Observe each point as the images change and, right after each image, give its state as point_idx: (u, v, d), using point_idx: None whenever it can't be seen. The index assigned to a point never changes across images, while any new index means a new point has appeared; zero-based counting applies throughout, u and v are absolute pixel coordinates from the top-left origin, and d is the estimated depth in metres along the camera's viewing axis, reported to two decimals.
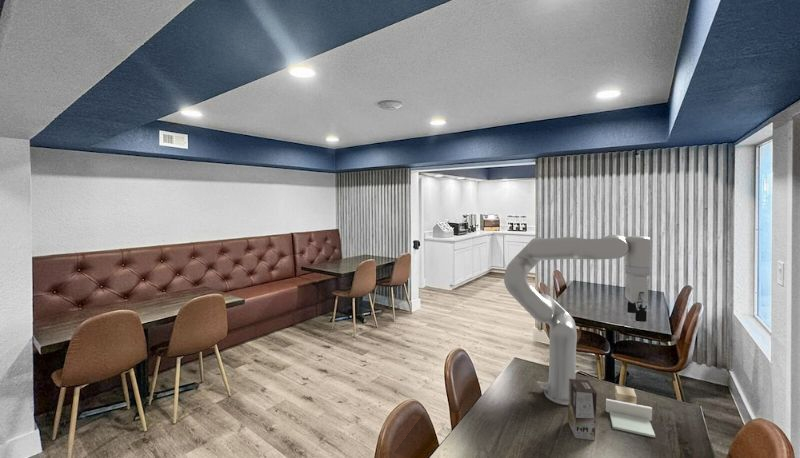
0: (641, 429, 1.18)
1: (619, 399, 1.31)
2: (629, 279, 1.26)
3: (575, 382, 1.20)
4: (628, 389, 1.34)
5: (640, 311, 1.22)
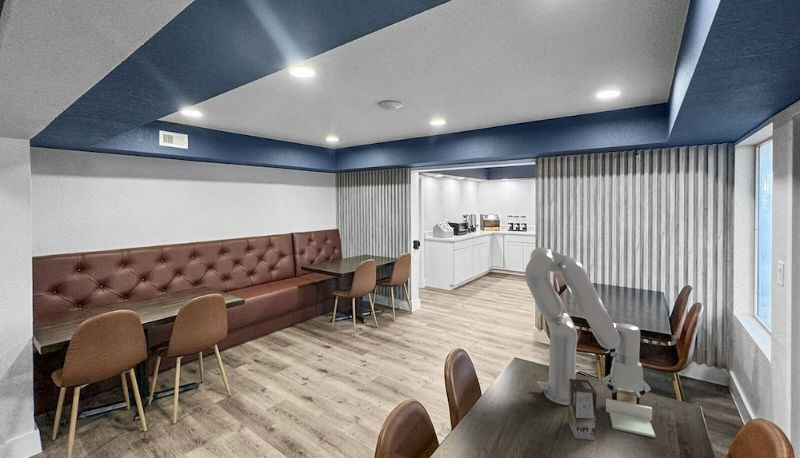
0: (641, 429, 1.18)
1: (619, 399, 1.31)
2: (631, 369, 1.29)
3: (575, 382, 1.20)
4: None
5: None
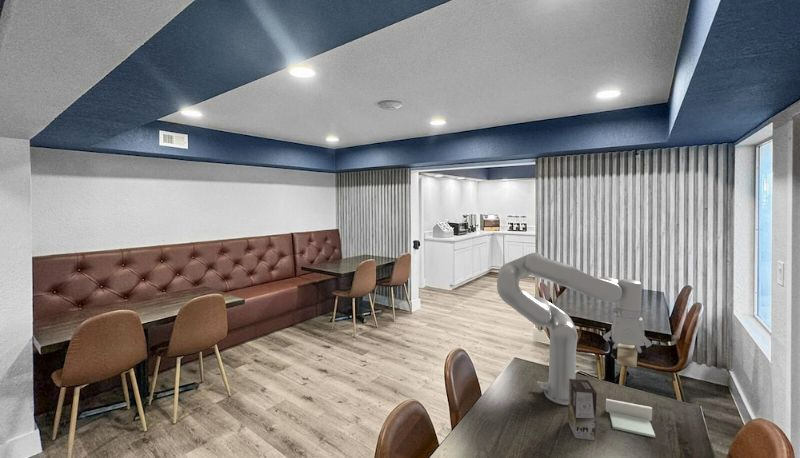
0: (641, 429, 1.18)
1: (620, 354, 1.30)
2: (632, 324, 1.28)
3: (575, 382, 1.20)
4: (629, 345, 1.33)
5: None
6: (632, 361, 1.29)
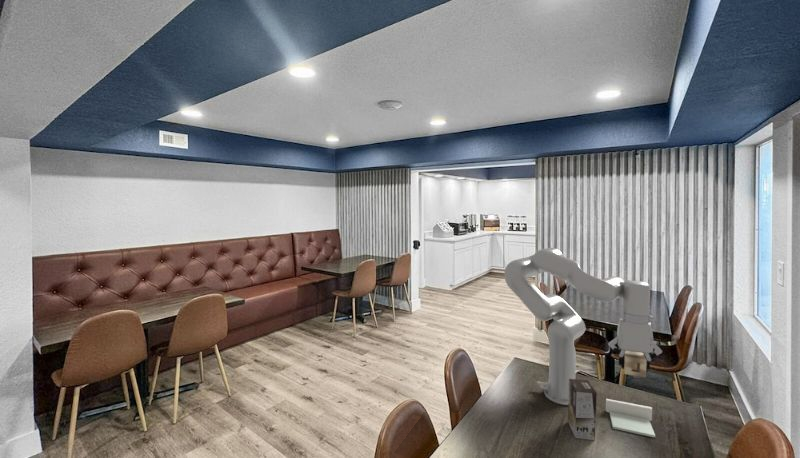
0: (641, 429, 1.18)
1: None
2: None
3: (575, 382, 1.20)
4: (631, 356, 1.19)
5: None
6: None
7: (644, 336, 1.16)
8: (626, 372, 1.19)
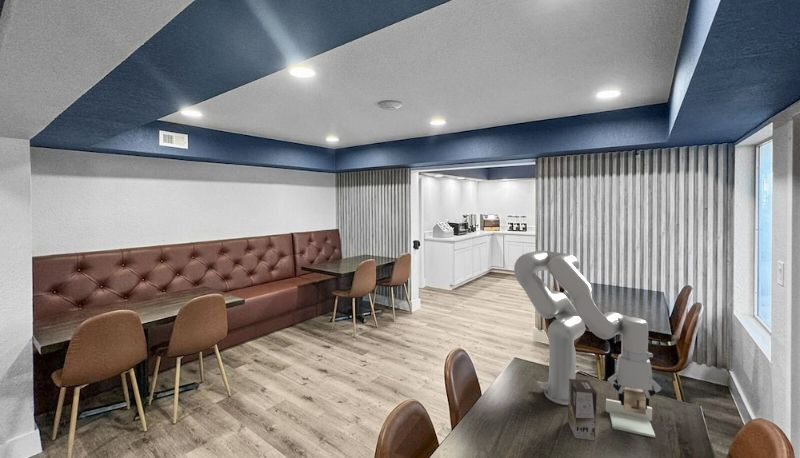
0: (641, 429, 1.18)
1: None
2: None
3: (575, 382, 1.20)
4: (630, 393, 1.20)
5: (619, 391, 1.23)
6: None
7: (643, 373, 1.17)
8: (626, 409, 1.20)
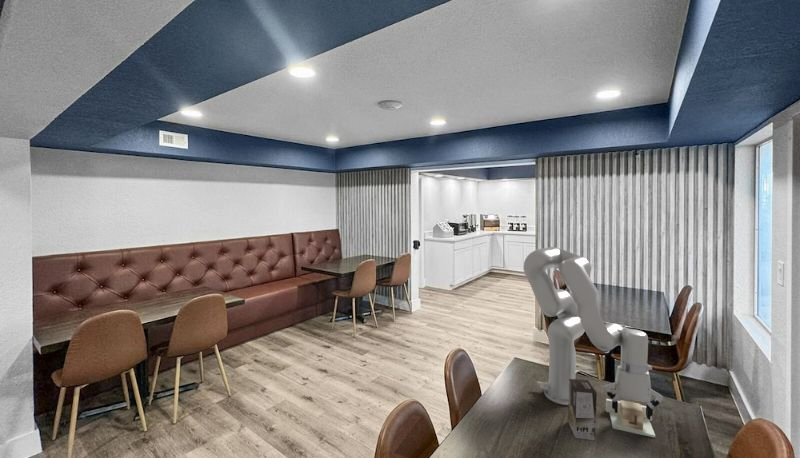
0: None
1: None
2: None
3: (575, 382, 1.20)
4: (628, 408, 1.21)
5: (612, 399, 1.24)
6: None
7: (642, 386, 1.18)
8: (623, 424, 1.20)
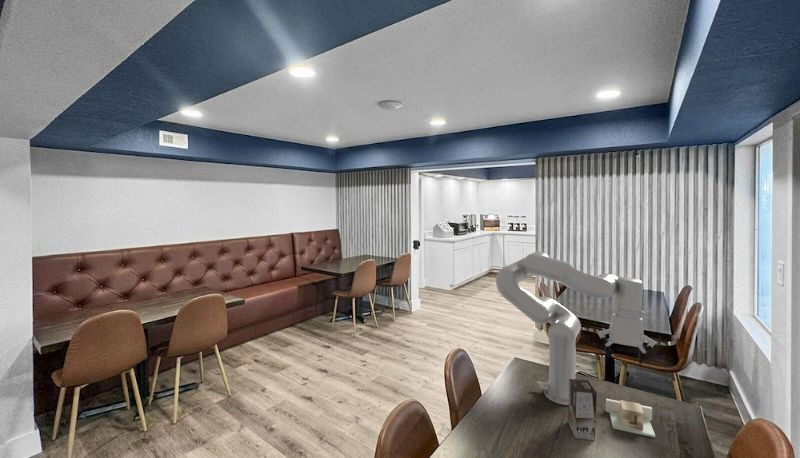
0: None
1: None
2: None
3: (575, 382, 1.20)
4: (628, 408, 1.21)
5: (605, 344, 1.29)
6: None
7: (635, 331, 1.22)
8: (623, 424, 1.20)
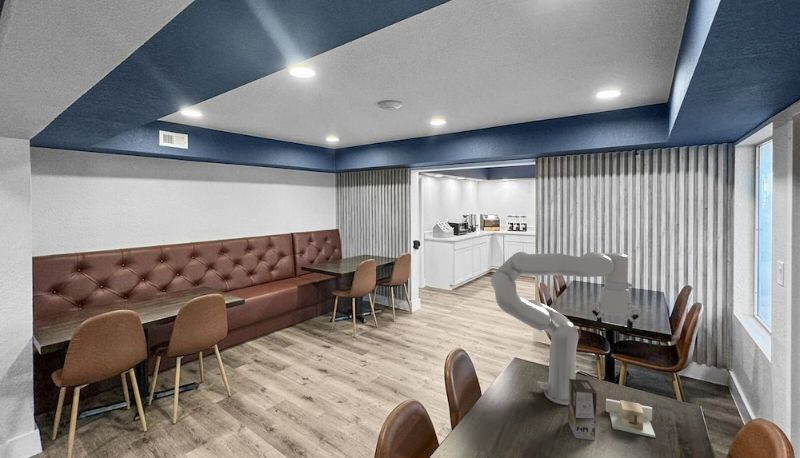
0: None
1: None
2: None
3: (575, 382, 1.20)
4: (628, 408, 1.21)
5: None
6: None
7: (623, 301, 1.32)
8: (623, 424, 1.20)
